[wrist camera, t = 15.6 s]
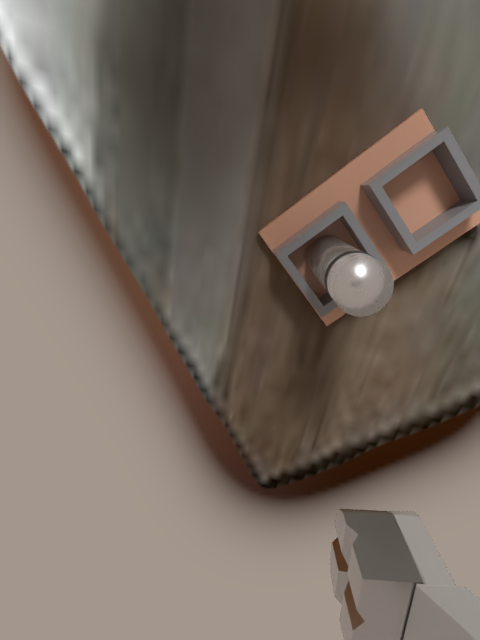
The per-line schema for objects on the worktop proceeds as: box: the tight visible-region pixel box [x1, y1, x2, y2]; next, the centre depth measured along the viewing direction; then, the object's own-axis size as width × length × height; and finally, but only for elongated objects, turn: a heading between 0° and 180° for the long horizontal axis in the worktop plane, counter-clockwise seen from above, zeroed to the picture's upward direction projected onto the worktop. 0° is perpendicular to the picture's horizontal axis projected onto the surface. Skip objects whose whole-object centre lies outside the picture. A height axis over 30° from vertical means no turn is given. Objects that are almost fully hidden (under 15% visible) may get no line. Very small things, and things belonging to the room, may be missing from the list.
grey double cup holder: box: [258, 109, 480, 326], centre depth 39 cm, size 12×18×4 cm, turn 127°
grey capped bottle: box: [307, 236, 394, 317], centre depth 34 cm, size 4×4×14 cm
